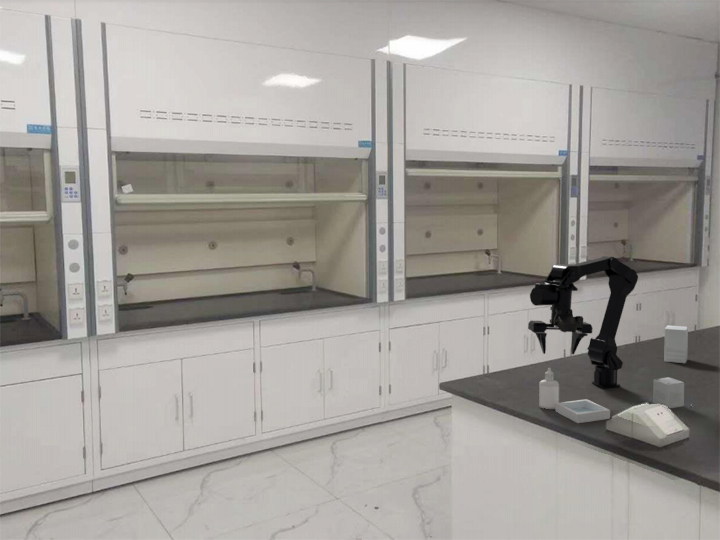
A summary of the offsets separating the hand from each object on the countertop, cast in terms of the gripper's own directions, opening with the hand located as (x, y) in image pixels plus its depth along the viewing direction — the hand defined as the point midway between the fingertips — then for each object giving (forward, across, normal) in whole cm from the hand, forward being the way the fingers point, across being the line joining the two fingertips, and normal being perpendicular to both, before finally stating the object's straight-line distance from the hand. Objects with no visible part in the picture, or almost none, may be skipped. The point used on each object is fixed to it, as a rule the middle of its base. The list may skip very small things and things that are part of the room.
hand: (558, 354), depth 200 cm
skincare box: (+12, +29, -14) cm, 34 cm away
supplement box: (+9, +58, +34) cm, 68 cm away
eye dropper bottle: (+14, -7, -12) cm, 20 cm away
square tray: (+13, 0, -20) cm, 24 cm away
